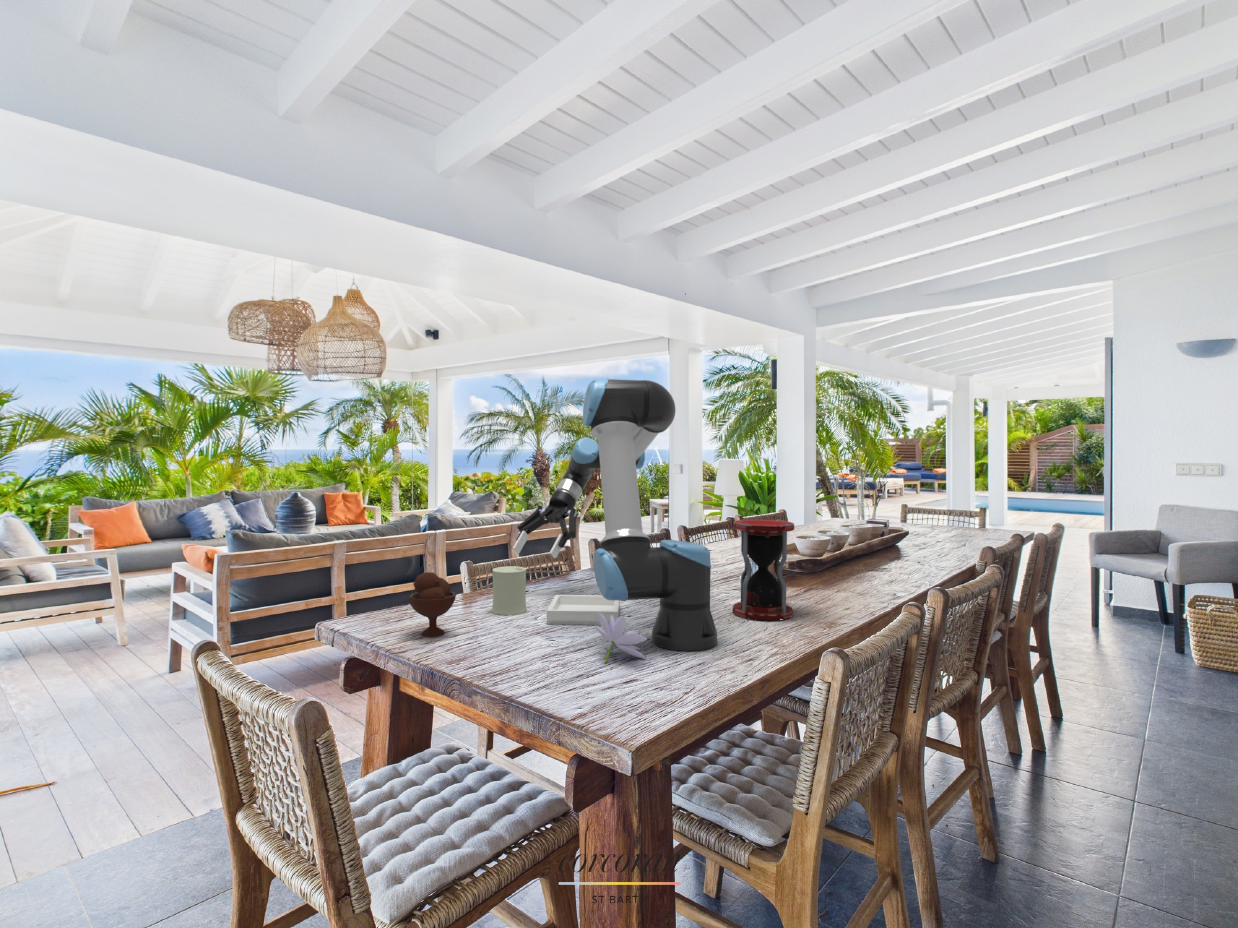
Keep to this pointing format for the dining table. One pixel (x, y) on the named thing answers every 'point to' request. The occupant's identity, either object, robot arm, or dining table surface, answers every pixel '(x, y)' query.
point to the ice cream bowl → (431, 600)
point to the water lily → (619, 636)
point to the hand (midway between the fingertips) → (533, 553)
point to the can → (509, 590)
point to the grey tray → (581, 609)
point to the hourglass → (763, 569)
